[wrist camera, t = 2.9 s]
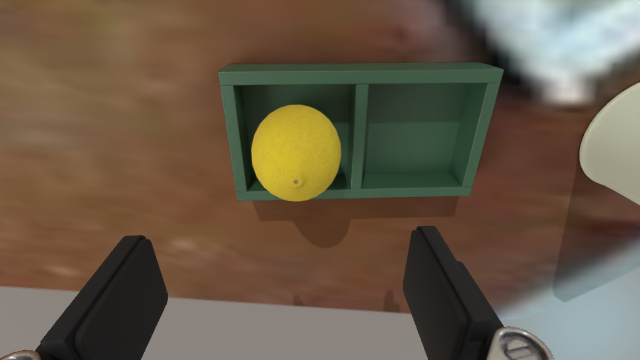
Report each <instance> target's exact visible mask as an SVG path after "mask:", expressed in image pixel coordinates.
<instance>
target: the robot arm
mask: <svg viewBox="0 0 640 360" xmlns="http://www.w3.org/2000/svg"><path fill="white" fill-rule="evenodd" d="M403 291H404V295H405V297H406V300H407V303H408V306H409V308H410V311H411V314H412V317H413V319H414V322H415V325H416V327H417V330H418V333H419V336H420V338H421V341H422V343H423V346H424V349H425V352H426V355H427V357H428V360H554V357H553V355H552V353H551V351H550V350H549V349H548V347H547V346H546V345H545V344H544V343H543V342H542V341H541V340H540V339H538V338H537V337H536V336H535V335H533V334H531V333H530V332H528V331H526V330H523V329H520V328H517V327H510V326H509V327H504V326H503V324H502V323H501V321H500V320H499V318H498V317H497V315H496V313H495V312H494V310H493V309H492V307H491V306H490V304H489V303H488V301H487V300H486V298H485V296H484V295H483V293H482V292H481V290H480V289H479V287H478V286H477V284H476V283H475V281H474V279H473V278H472V276H471V275H470V273H469V272H468V270H467V269H466V267H465V266H464V265H463V263H461V262H460V261H456V259H455V257H454V256H453V254H452V253H451V251H450V249H449V248H448V246H447V245H446V243H445V241H444V240H443V238H442V237H441V235H440V233H439V232H438V230H437V229H436V227H435V226H418V227H417V229H416V230H413V231H412V234H411V239H410V245H409V251H408V257H407V263H406V269H405V275H404V281H403ZM167 300H168V293H167V290H166V287H165V284H164V281H163V277H162V274H161V271H160V268H159V265H158V262H157V259H156V256H155V252H154V249H153V246H152V243H151V241H150V240H149V239H146V237H145V236H143V235H138V236H125V237H123V238H122V239H121V241H120V242H119V243H118V244H117V246H116V247H115V248H114V249H113V251H112V252H111V253H110V255H109V256H108V257H107V258H106V260H105V261H104V262H103V263H102V265H101V266H100V267H99V268H98V270H97V271H96V272H95V273H94V275H93V276H92V277H91V278H90V280H89V281H88V282H87V284H86V285H85V286H84V287H83V289H82V290H81V291H80V292H79V294H78V295H77V296H76V297H75V299H74V300H73V301H72V302H71V304H70V305H69V306H68V307H67V309H66V310H65V311H64V313H63V314H62V315H61V317H60V318H59V319H58V320H57V321H56V323H55V324H54V325H53V326H52V328H51V329H50V330H49V331H48V333H47V334H46V335H45V336H44V338H43V339H42V340H41V344H40V345H39V346H38V347H37V349H36V350H35V351H33V350H22V351H18V352H14V353H11V354H9V355H6V356H4V357H2V358H0V360H141V358H142V356H143V354H144V352H145V349H146V347H147V345H148V343H149V341H150V339H151V336H152V334H153V332H154V330H155V328H156V326H157V323H158V321H159V319H160V317H161V315H162V313H163V311H164V308H165V306H166V304H167Z"/></svg>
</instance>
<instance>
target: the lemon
mask: <svg viewBox="0 0 640 360" xmlns="http://www.w3.org/2000/svg"><path fill="white" fill-rule="evenodd" d="M251 152H252V164H253V167H254V170H255V173H256V176H257V178H258V179H259V181H260V182H261V184H262V185H263V187H264V188H265V189H267V190H268V191H269V192H270V193H271V194H273V195H275V196H277V197H279V198H281V199H284V200H288V201H304V200H309V199H311V198H314V197H316V196H318V195H319V194H321V193H322V192H324V191H325V190H326V189H327V188H328V187H329V185H330V184H331V183H332V182H333V180H334V178H335V176H336V174H337V172H338V169H339V165H340V160H341V144H340V140H339V137H338V134H337V131H336V129H335V127H334V126H333V124H332V123H331V121H330V120H329V119H328V118H327V117H326V116H325V115H323V114H322V113H321V112H320V111H318V110H316V109H314V108H312V107H309V106H304V105H288V106H285V107H281V108H278V109H277V110H275V111H273V112H272V113H270V114H269V115H268V116H267V117H266V118H265V119H264V120H263V121H262V122H261V123H260V125H259V127H258V129H257V131H256V133H255V135H254V139H253V143H252V148H251Z"/></svg>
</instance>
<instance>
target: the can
mask: <svg viewBox="0 0 640 360" xmlns="http://www.w3.org/2000/svg"><path fill="white" fill-rule="evenodd" d="M580 164H581V167H582V169H583V171H584V173H585V174H586V175H587V176H588V177H589V178H590V179H591V180H593V181H594V182H597V183H599V184H602V185H605V186H607V187H609V188H610V189H612V190H614V191H616V192H618V193H619V194H621V195H623V196H625V197H626V198H628V199H630V200H632V201H633V202H635V203H637V204H638V205H640V82H639V83H637V84H635V85H633V86H631V87H629V88H628V89H626V90H624V91H623V92H621V93H620V94H619V95H617V96H616V97H615V98H613V99H612V100H611V101H610V102H609V103H607V104H606V105H605V106H604V107H603V108H602V109H601V111H600V112H599V113H598V114H597V115H596V116H595V118H594V119H593V120H592V122H591V123H590V125H589V127H588V128H587V130H586V132H585V134H584V137H583V139H582V143H581V146H580Z"/></svg>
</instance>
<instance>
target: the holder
mask: <svg viewBox="0 0 640 360" xmlns="http://www.w3.org/2000/svg"><path fill="white" fill-rule="evenodd" d="M503 71H504V70H503V69H500V68H497V67H493V66H490V65H487V64H484V63H480V62H462V63H314V64H229V65H227V66H226V67H224V68H223V69H222V70H220V71H219V72H218V74H219V81H220V85H221V86H220V87H221V94H222V101H223V108H224V114H225V121H226V128H227V134H228V141H229V148H230V155H231V161H232V168H233V175H234V181H235V188H236V195H237V201H259V200H284V199H281V198H279V197H277V196H275V195H273V194H271V193H270V192H269V191H268V190H267V189H265V188H264V187H263V185H262V184H261V182H260V181H259V179H258V178H257V176H256V173H255V170H254V167H253V164H252V152H251V148H252V143H253V139H254V135H255V133H256V131H257V129H258V127H259V125H260V123H261V122H262V121H263V120H264V119H265V118H266V117H267V116H268V115H269V114H270V113H272V112H273V111H275V110H277V109H278V108H281V107H285V106H288V105H304V106H309V107H312V108H314V109H316V110H318V111H320V112H321V113H322V114H323V115H325V116H326V117H327V118H328V119H329V120H330V121H331V123H332V124H333V126H334V127H335V129H336V131H337V134H338V137H339V140H340V144H341V160H340V165H339V169H338V172H337V174H336V176H335V178H334V180H333V182H332V183H331V184H330V185H329V187H328V188H327V189H326V190H325V191H324V192H322V193H321V194H319V195H318V196H316V197H314V198H311V199H345V198H388V197H431V196H470V194H471V190H472V186H473V183H474V179H475V175H476V172H477V168H478V164H479V160H480V157H481V153H482V149H483V146H484V142H485V138H486V134H487V131H488V127H489V123H490V119H491V116H492V112H493V108H494V105H495V101H496V97H497V93H498V90H499V86H500V82H501V79H502V75H503Z"/></svg>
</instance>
